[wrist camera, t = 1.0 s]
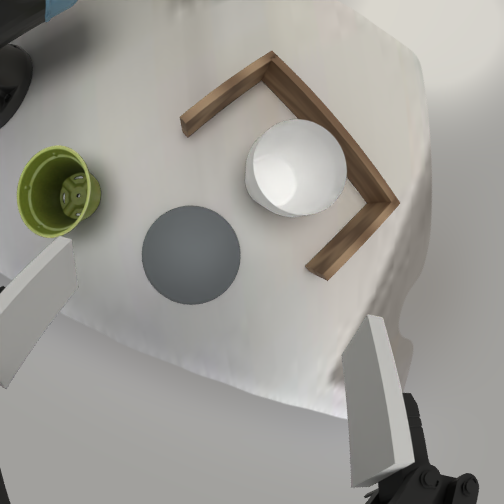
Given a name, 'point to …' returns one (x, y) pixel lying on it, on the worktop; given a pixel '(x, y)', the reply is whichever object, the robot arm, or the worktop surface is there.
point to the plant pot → (56, 192)
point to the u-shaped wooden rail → (315, 111)
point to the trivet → (191, 255)
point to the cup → (295, 169)
